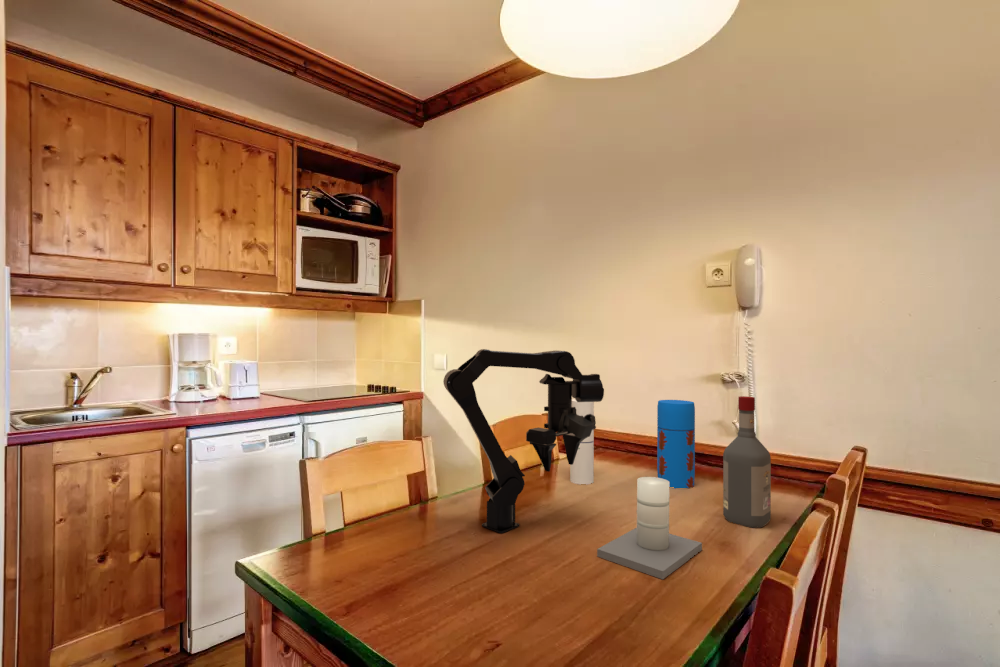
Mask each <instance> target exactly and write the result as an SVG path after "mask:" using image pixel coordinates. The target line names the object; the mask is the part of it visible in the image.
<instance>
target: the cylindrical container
mask: <svg viewBox="0 0 1000 667" xmlns="http://www.w3.org/2000/svg"><path fill="white" fill-rule="evenodd" d="M572 407H575V409H576V414H577V415H579V416H583V417H584V416H586V415H587V414H592V415H594V416H595V402H577V401H576V399H575V398H572ZM594 434H595V429H593V430H592V432H591V435H590V437H587V438H585V439H584V440H583V441H582V442H581V443H580V445H579V447H578V450H577V453H576V456H575V460H574V463H573V464H572V465H570V464H569V466H570V467H569V470H570V472H569V473H570V474H569V475H570V476H569V477H570V478H569V481H570V482H571V483H572V484H574V485H575V484H576V485H581V484H586V485H591V483H592V484H593V483H594V476H595V475H594V474H595V473H594V469H595V467H594V465H595V464H594V463H595V462H594V453H595V451H594V450H595V448H594V447H595V445H594V444H595V443H594V442H595V441H594V439H595V438H594V437H595V435H594Z"/></svg>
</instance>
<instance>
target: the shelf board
mask: <svg viewBox="0 0 1000 667" xmlns="http://www.w3.org/2000/svg"><path fill="white" fill-rule="evenodd" d="M596 551H597V552H596V555H597V556H596V557H597V558H601V559H604V560H606V561H609V562H612V563H615V564H618V565H620V566H623V567H627V568H629V569H632V570H635V571H637V572H640V573H643V574H647V575H649V576H652V577H655V578H657V579H660V580H664V579H665V578H667V577H668V576H669V575H671V574H672V573H673V572H675V571H677V570H678V569H679V568H680V567H682V566H683V565H685V563H687V562H688V561H689V560H691V559H692V558H694V557H695V556H696V555H698V554H699V553H700V552H701V551H703V542H700V541H697V540H694V539H690V538H687V537H683V536H680V535H676V534H672V533H669V547H668V548H667V549H665V550H650V549H646V548H643V547H641V546H639V545H638V544H637V527H635V528H633V529H631V530H629V531H627V532H626V533H624V534H622V535H620V536H618V537H617V538H615V539H613V540H611V541H609V542H607V543H605V544H604V545H602V546H601V547H599V548H597V549H596ZM698 552H699V553H698ZM694 555H695V556H694ZM690 558H691V559H690Z"/></svg>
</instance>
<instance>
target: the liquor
mask: <svg viewBox="0 0 1000 667" xmlns="http://www.w3.org/2000/svg"><path fill="white" fill-rule="evenodd" d="M737 399H738V402H737V403H738V405H737V406H738V408H737V409H738V432H737V436H736V437H735V438H734V439H733V440H732V441H731V442H730V443H729V444H728V445H727V446H726V447H725V448H724V449H723V450H724V451H723V453H722V455H723V456H722V459H723V460H722V461H723V463H722V464H723V467H722V468H723V469H722V470H723V471H722V473H723V474H722V476H723V478H722V481H723V483H722V487H723V490H722V493H723V494H722V496H723V497H722V498H723V501H722V503H723V505H722V507H723V508H722V511H723V512H722V514H723V517H724V518H726V520H727V521H728V522H729V521H730V522H729V523H731V522H733V523H732V524H735V523H736V525H739V524H740V526H742V527H748V528H763V527H764V526H766V525H767V524H768V523H769V522H770V521H771V518H772V517H771V516H772V514H771V512H772V511H771V509H772V507H771V506H772V505H771V502H772V501H771V497H772V495H771V494H772V493H771V491H772V490H771V489H772V488H771V486H772V484H771V481H772V480H771V475H772V473H771V472H772V471H771V470H772V469H771V465H772V464H771V463H772V462H771V459H772V458H771V457H772V456H771V454H770V451H769V450H768V449H767V448H766V447H765V446H764V445H763V443H762V442H761V441H760V440H759V439H758V438H757V433H756V432H755V410H756V404H755V403H756V398H755V397H754V396H746V395H745V396H742V395H741V396H740V395H739V396H738V398H737Z"/></svg>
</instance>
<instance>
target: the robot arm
mask: <svg viewBox="0 0 1000 667" xmlns="http://www.w3.org/2000/svg"><path fill="white" fill-rule="evenodd" d="M489 367H501V368H502V367H503V368H517V369H535V370H539V371H543V372H545V375H544V376H543V377H542V378H541V379H539V381H538V382H539V383H540V384H542V385H547V406H544V407H543V408H544V410H543V411H544V412H547V423H543V427H533V428H530V429H528V430H527V431H526V433H525V435H526V436H525V441H526V442H529V444H530V445H531V446H533V449H534V450H535V452H536V453H537V456H538V457H539V460H540V461H541V465H542V466H543V468H544V471H545V472H548V473H549V472H551V467H552V455H553V454H552V453H553V450H554V448H555V447H556V446H557V443H555V442H556V440H557V437H560V436H562V440H563V444H564V450H565V455H566V459H567V463H568V465H569V466H570V465H572V464H573V463H574V460H575V456H576V453H577V450H578V447H579V445H580V443H581V442H582V441H583V440H584V439H585V438H587V437H590V435H591V432H592V430H593V429H594V430H596V429H597V426H596V416H595V414H594V415H592V414H587V415H586V416H584V417H583V416H579V415H577V414H576V409H575V407H572V399H576V401H577V402H594V403H597V402H598V403H600V402H601V401H602V400H604V397H605V396H604V395H605V389H604V386H603V382H602V380H601V375H600V374H598V373H591V374H582V372H581V371H580V369H579V368H578V367H577V365H576V360H575V358H574V356H573V355H572V353H571V352H569V351H565V350H548V351H542V352H541V351H540V352H533V353H531V352H519V351H518V352H516V351H504V350H503V351H501V350H500V351H499V350H490V349H487V348H482V349H479V350H477V352H476V353H475V354H474V355H473V356H472V357H470V358H469V359H467V360H466V361H465V362H464V363H462V364H461V365H460V366H458V368H457V369H451V370H449V371H447V372H446V374H445V375H444V376H443V385H444V387H445V390H446V391H447V392H448V393H449V395H450V396H451V397H452V399H453V400H454V401H455V402H456V403H457V405H458V406H459V407H460V408H461V410H462V411H463V413H464V415H465V417H466V419H467V421H468V422H469V425H470V427H471V428H472V431H473V432H474V435H475V436H476V438H477V439H478V441H479V444H480V445H481V447H482V450H483V452H484V453H485V455H486V457H487V459H488V461H489V465H490V470H491V473H492V476H493V478H492V479H491V480H490V481H489V483H488V484H486V486H485V488H484V489H485V490H486V494H487V496H488V497H489V499H488V500H487V501H486V522H484V523H481V526H482V527H483V528H486V529H488V530H491V531H493V532H495V533H499V534H504V533H505V532H508V531H511V530H513V529H515V528H519V527H520V523H519V522H516V502H517V499H518V497H519V495H520V494H521V493H522V491H523V490H524V488H525V480H524V477H525V476H526V475H525V474H524V473H523V471H522V470H521V468H520V464H519V462H518V460H517V459H515V457H514V456H512V455H511V454H510V455H508V456H506V454H505V452H504V450H503V448H502V447H501V445H500V443H499V441H498V439H497V437H496V435H495V434H494V432H493V429H492V428H491V426H490V423H489V422H488V420H487V418H486V416H485V415H484V412H483V411H482V408H481V406H480V405H479V402H478V399H477V394H476V390H475V387H474V384H473V383H474V382H475V381H477V380H478V378H480V376H481V375H482V374H484V372H485V371H486V370H487V369H488V368H489ZM546 372H547V373H546ZM549 373H550V374H556V375H560V376H551V375H550V374H549ZM565 378H567V379H572V380H565Z"/></svg>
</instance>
